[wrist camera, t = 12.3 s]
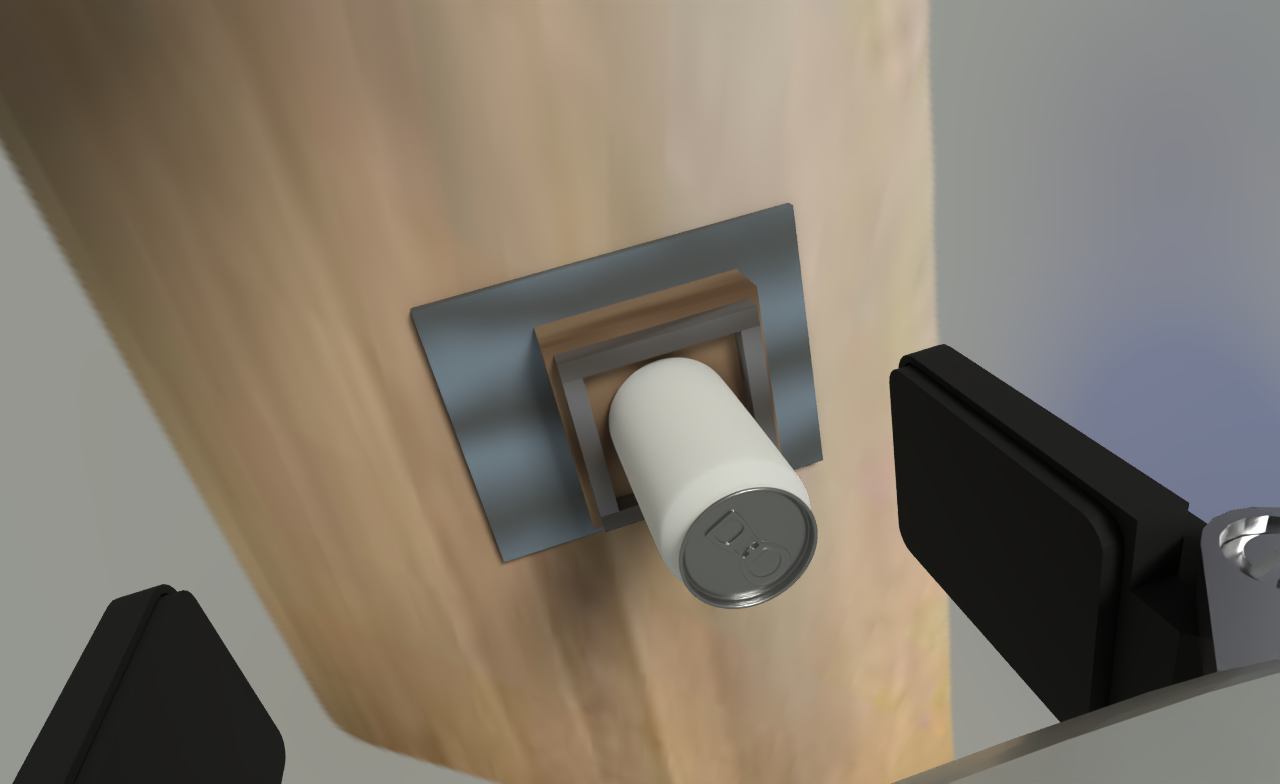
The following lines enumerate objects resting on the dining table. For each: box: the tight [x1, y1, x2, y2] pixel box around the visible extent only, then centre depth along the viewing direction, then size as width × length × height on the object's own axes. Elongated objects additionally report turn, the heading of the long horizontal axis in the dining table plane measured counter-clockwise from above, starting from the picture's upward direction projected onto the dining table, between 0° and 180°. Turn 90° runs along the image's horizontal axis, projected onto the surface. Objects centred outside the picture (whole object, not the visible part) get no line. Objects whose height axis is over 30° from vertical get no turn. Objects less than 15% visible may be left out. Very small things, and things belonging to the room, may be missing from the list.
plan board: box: [411, 203, 823, 562], centre depth 42 cm, size 16×20×5 cm
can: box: [609, 358, 817, 609], centre depth 36 cm, size 6×6×12 cm
